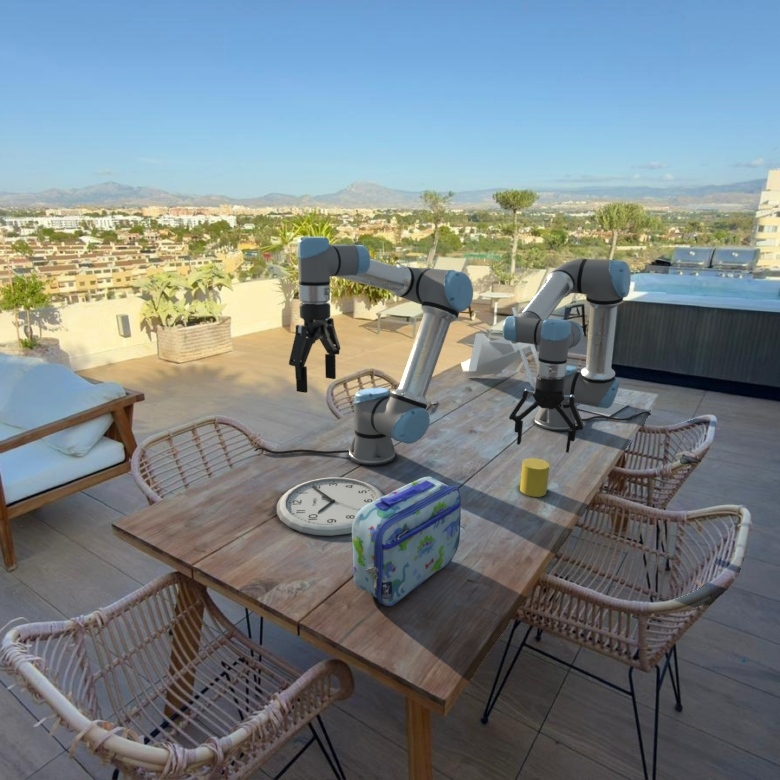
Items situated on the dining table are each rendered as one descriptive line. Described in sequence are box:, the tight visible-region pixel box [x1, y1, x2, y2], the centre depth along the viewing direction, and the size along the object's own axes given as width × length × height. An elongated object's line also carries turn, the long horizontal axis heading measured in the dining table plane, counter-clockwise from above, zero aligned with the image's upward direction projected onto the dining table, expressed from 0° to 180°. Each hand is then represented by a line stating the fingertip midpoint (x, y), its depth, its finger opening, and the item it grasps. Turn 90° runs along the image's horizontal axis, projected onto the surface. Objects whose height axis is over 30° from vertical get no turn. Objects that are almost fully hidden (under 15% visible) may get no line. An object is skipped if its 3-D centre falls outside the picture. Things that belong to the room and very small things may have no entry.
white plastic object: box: [460, 306, 539, 391], centre depth 259 cm, size 37×45×31 cm
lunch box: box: [351, 476, 462, 607], centre depth 111 cm, size 26×11×21 cm, turn 135°
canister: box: [519, 457, 550, 498], centre depth 152 cm, size 8×8×9 cm
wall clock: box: [276, 476, 385, 537], centre depth 142 cm, size 30×2×30 cm
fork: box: [426, 396, 439, 412], centre depth 222 cm, size 3×16×2 cm, turn 160°
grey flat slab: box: [576, 400, 629, 417], centre depth 226 cm, size 21×1×15 cm
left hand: (316, 384), depth 135 cm, fingers open, 13 cm apart
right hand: (542, 446), depth 151 cm, fingers open, 13 cm apart
